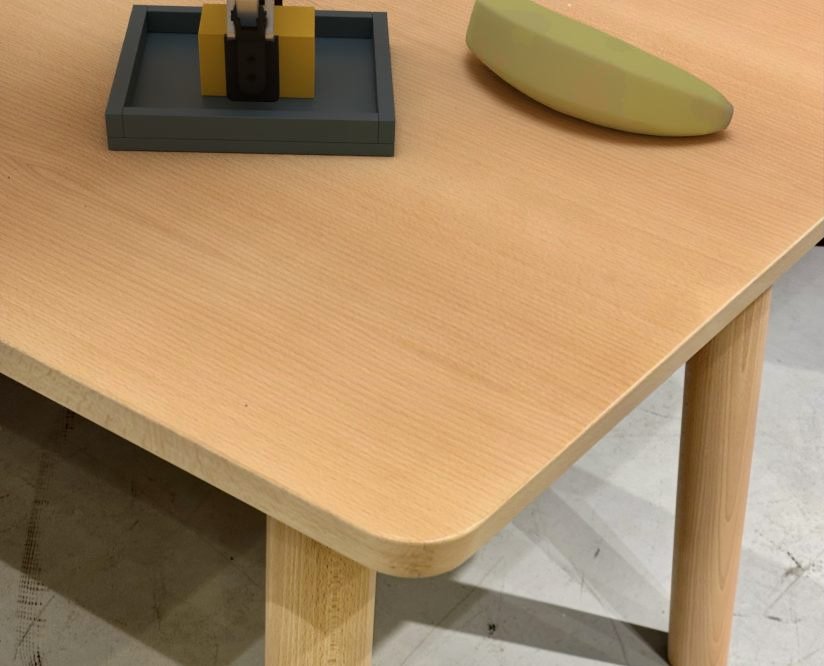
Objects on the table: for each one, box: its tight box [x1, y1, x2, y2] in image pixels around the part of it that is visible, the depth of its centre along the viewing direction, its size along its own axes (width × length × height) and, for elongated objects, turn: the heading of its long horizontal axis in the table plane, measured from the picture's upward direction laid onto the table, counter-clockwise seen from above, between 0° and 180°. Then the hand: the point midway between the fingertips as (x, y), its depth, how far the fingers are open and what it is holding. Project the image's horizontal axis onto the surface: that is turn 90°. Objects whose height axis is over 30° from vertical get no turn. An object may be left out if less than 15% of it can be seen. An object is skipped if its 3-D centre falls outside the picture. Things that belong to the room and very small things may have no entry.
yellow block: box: [198, 3, 316, 98], centre depth 87 cm, size 7×5×4 cm, turn 93°
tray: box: [104, 4, 397, 157], centre depth 88 cm, size 17×16×2 cm
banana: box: [465, 0, 735, 137], centre depth 91 cm, size 14×6×20 cm
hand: (255, 68), depth 87 cm, fingers open, 7 cm apart
